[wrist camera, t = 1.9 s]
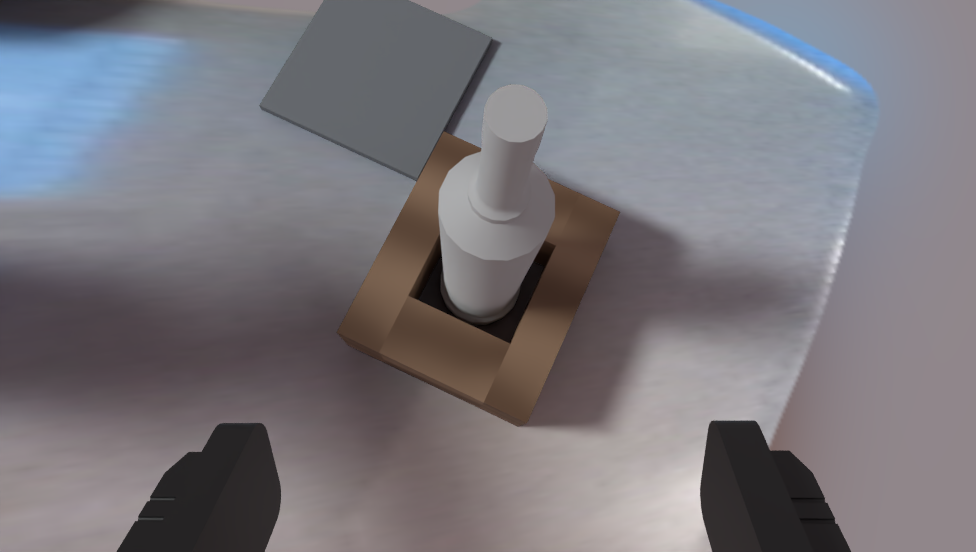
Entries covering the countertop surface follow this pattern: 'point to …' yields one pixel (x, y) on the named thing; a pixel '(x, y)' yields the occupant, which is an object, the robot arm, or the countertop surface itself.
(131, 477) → the countertop surface
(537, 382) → the walnut holder
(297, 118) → the slate mat
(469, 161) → the bottle
